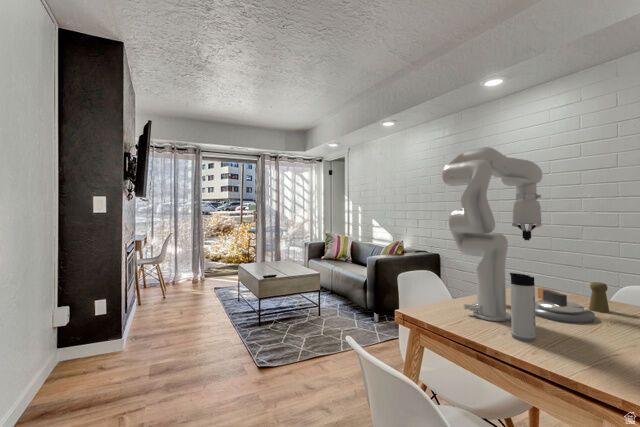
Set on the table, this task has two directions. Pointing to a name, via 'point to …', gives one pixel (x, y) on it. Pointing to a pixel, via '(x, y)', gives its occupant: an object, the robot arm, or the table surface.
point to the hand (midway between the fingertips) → (527, 240)
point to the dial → (557, 302)
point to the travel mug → (523, 307)
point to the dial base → (566, 316)
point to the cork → (599, 297)
